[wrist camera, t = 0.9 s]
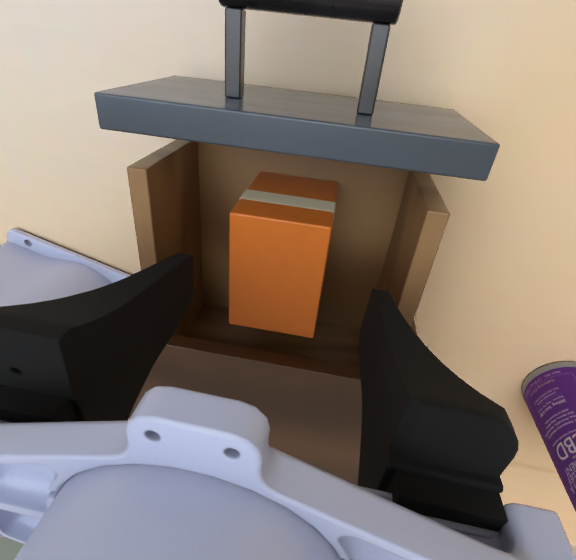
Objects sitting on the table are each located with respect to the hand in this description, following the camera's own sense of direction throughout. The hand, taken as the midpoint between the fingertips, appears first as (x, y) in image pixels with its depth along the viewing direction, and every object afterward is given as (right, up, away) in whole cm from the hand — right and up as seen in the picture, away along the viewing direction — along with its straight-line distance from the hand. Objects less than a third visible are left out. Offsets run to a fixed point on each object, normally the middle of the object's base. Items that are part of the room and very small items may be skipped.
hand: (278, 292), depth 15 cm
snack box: (+1, +3, +5) cm, 6 cm away
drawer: (+1, +5, +5) cm, 8 cm away
